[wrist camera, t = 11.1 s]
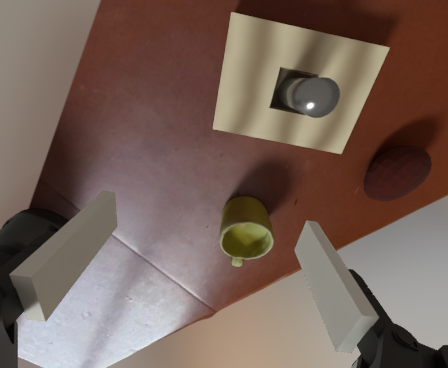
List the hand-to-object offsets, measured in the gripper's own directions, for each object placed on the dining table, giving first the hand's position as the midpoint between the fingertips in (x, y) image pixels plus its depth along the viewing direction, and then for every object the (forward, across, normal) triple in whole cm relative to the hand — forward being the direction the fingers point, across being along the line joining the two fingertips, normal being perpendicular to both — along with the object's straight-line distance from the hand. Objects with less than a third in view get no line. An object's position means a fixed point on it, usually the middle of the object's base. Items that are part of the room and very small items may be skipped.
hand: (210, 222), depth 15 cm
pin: (+22, +9, +9) cm, 25 cm away
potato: (+23, +29, 0) cm, 37 cm away
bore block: (+23, +9, +9) cm, 26 cm away
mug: (+23, +7, -16) cm, 29 cm away
